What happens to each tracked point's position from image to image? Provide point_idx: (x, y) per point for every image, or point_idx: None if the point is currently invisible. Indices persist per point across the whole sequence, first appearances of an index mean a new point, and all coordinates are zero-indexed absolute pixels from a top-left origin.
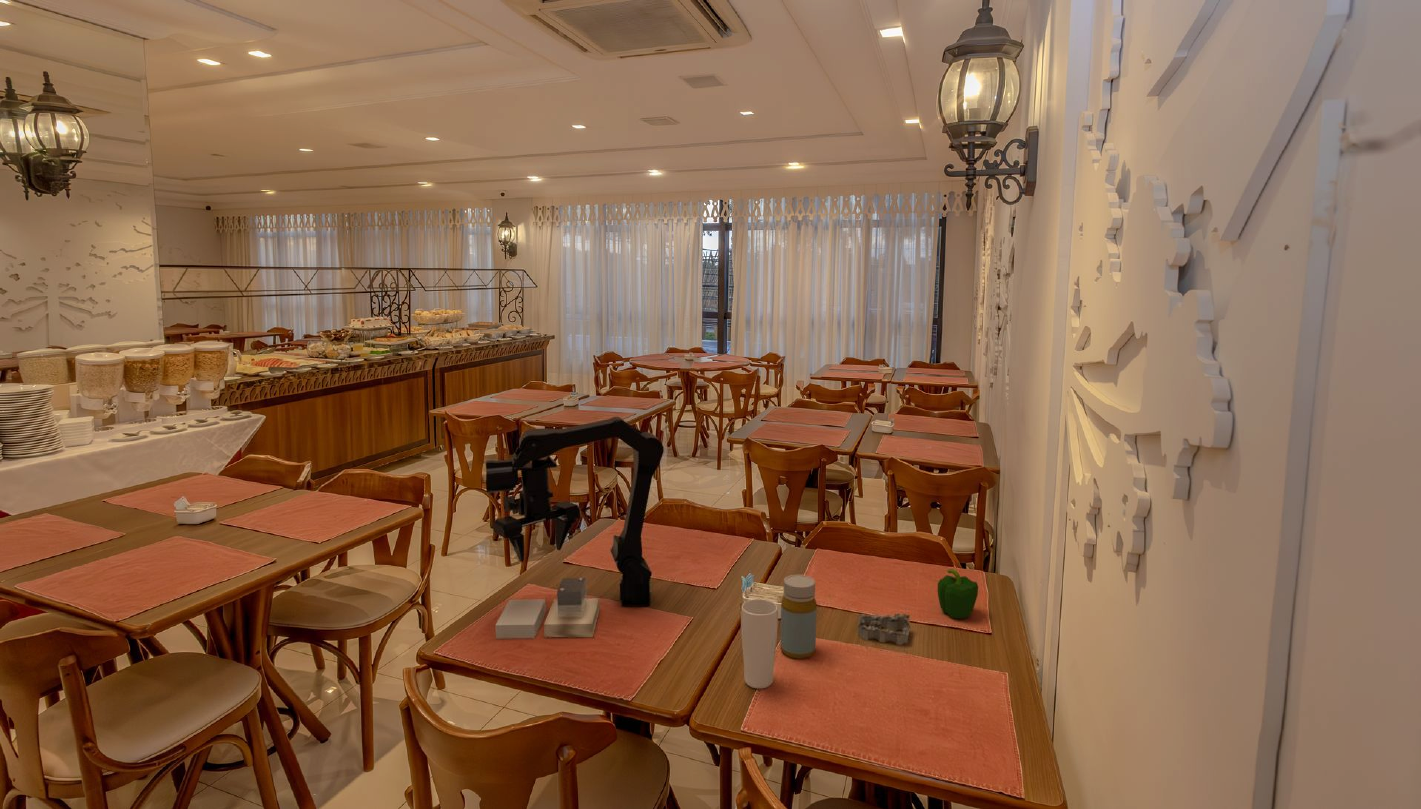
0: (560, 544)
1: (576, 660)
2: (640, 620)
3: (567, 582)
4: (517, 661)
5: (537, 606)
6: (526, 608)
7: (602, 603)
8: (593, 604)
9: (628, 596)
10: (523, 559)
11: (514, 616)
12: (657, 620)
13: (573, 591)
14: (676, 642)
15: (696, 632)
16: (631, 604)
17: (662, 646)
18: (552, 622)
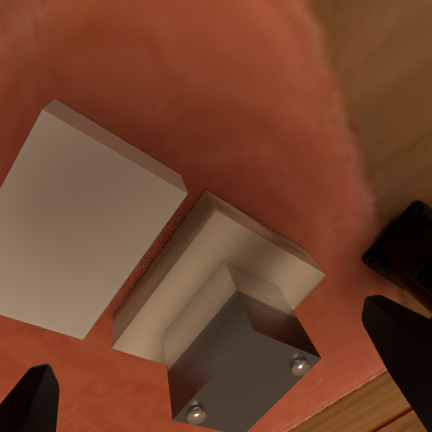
0: (394, 379)
1: (142, 412)
2: (340, 329)
3: (246, 369)
4: (12, 383)
5: (137, 235)
6: (92, 231)
7: (341, 215)
8: (290, 300)
9: (394, 272)
10: (54, 413)
11: (30, 268)
12: (362, 341)
13: (223, 429)
14: (324, 410)
15: (371, 395)
16: (379, 272)
17: (298, 414)
18: (138, 346)
